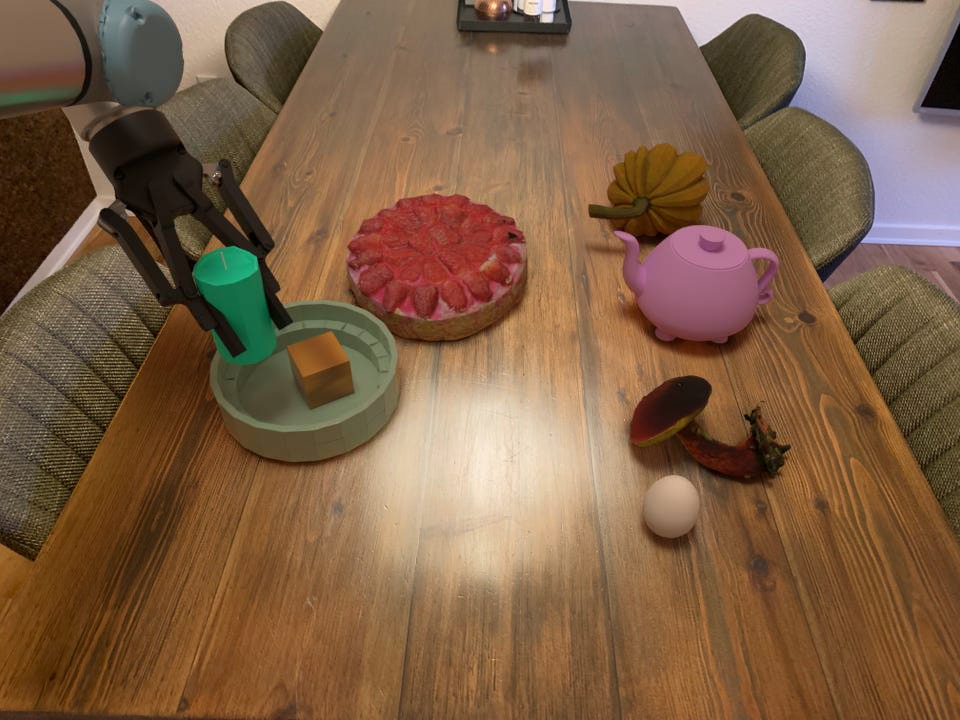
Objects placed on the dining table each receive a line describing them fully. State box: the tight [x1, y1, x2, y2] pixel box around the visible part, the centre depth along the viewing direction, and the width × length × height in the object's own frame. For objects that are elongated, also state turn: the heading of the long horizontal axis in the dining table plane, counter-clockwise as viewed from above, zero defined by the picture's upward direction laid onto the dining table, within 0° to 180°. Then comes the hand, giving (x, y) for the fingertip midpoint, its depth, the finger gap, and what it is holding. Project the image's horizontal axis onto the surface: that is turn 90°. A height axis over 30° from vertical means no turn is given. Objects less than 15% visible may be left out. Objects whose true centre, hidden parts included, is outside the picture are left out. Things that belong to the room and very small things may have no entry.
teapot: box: [613, 224, 780, 344], centre depth 91 cm, size 22×16×14 cm
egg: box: [641, 474, 701, 539], centre depth 70 cm, size 5×5×8 cm
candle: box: [192, 246, 277, 366], centre depth 70 cm, size 6×6×12 cm
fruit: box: [587, 142, 710, 238], centre depth 105 cm, size 14×16×20 cm
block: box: [286, 331, 354, 410], centre depth 82 cm, size 6×6×6 cm
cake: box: [345, 192, 529, 342], centre depth 97 cm, size 25×25×8 cm
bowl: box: [209, 299, 402, 463], centre depth 82 cm, size 21×21×6 cm
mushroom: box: [629, 374, 792, 480], centre depth 78 cm, size 12×12×15 cm
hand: (263, 339), depth 70 cm, fingers closed on candle, 5 cm apart
